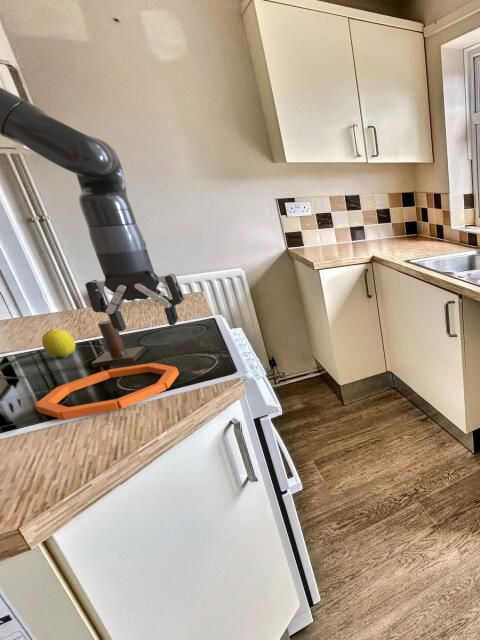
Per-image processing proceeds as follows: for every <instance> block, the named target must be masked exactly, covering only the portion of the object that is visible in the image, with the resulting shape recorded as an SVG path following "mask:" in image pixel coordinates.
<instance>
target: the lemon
mask: <svg viewBox="0 0 480 640" xmlns="http://www.w3.org/2000/svg"><path fill="white" fill-rule="evenodd" d="M41 343H42V347H43V349H44V350H45V352H46V353H47V354H49V355H51V356H53V357H57V358H58V357H60V358H63V359H65V358H68V357H69V356H70V355H71V354H72V353H74V351H75V349H76V341H75V339H74V337H73V336H72V335H71V334H70V333H69V332H67V331H66V330H63V329H57V328H50V329H49V330H48V331H46V332H45V333H44V334H43V335H42V337H41Z"/></svg>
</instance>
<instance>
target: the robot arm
mask: <svg viewBox="0 0 480 640" xmlns="http://www.w3.org/2000/svg"><path fill="white" fill-rule="evenodd" d="M0 136H2V137H4V138H6V139H7V140H9V141H12V142H14V143H17V144H19V145H22V146H24V147H26V148H27V149H29V150H30V151H32V152H34V153H35V154H37V155H39V156H41V157H43V158H44V159H46V160H47V161H49V162H51V163H53V164H54V165H57V166H58V167H60V168H62V169H64V170H66V171H69V172H70V173H73V174H75V175H76V178H77V181H78V184H79V188H80V194H79V197H78V202H79V206H80V210H81V212H82V215H83V217H84V220H85V223H86V225H87V229H88V235H89V237H90V239H89V240H90V241H91V244H92V248H93V249H94V252H95V255H96V258H97V260H98V262H99V266H100V269H101V271H102V274H103V276H104V280H96V279H92V280H90V281H88V282H86V283H85V284H84V285H85V288H86V293H87V295H88V298H89V301H90V305H91V309H92V312H95V313H104V314H106V315H107V316H108V318H109V320H110V321H111V323H112V326H113V327H114V328H115V329H117V330H118V332H124V331H126V330H127V324H126V321H125V319H124V317H123V314H122V312H121V310H119V309H120V307H121V305H122V304H123V303H124V301H126V302H129V301H134V300H147V299H151V300H152V301H154V302H155V303H156V302H157V303H158V304H160V305H161V306H163V307H165V308H164V313H165V316H166V319H167V323H168V325H169V326H175V325H176V324H177V322H178V321H179V315H178V312H177V308H176V306H177V305H180V304H181V303H182V302H184V300H185V297H184V295H183V292H182V290H181V287H180V284H179V281H178V280H177V276H176V275H175V274H174V273H168V274H167V275H161V276H158V275H157V274H156V273H155V270H154V267H153V264H152V261H151V258H150V255H149V251H148V249H147V244H146V241H145V239H144V236H143V235H142V232H141V230H140V228H139V226H138V223H137V221H136V217H135V214H134V211H133V209H132V206H131V204H130V201H129V197H128V194H127V187H126V181H125V176H124V171H123V167H122V163H121V160H120V158H119V156H118V154H117V152H116V151H115V149H114V148H113V147H112V146H111V145H110V144H109V143H108V142H106V141H104V140H102V139H100V138H98V137H95V136H91V135H88V134H86V133H84V132H81V131H79V130H78V129H75V128H73V127H71V126H69V125H67V124H65V123H64V122H61V121H59V120H57V119H56V118H53V117H52V116H50V115H49V114H48V113H46V111H44V110H43V109H41V108H39V107H38V106H36V105H35V104H32V103H31V102H30V101H27V100H26V99H24V98H22V97H19V96H18V95H16V94H14V93H12V92H10V91H9V90H7V89H4V88H3V87H1V86H0ZM160 283H162V285H163V286H165V287H167V289H168V290H169V294H170V296H171V297H169V296H168V295H166V293H165V292H164V291H163V290H161V289H160V288H158V286H159V284H160ZM105 288H106V289H108V290H109V291H110V292H111V293H113V295H112V297H111V299H110V301H109V304H106V301H105V298H104V295H103V292H104V291H105Z"/></svg>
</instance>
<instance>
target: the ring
mask: <svg viewBox="0 0 480 640" xmlns="http://www.w3.org/2000/svg"><path fill="white" fill-rule="evenodd" d="M145 373H151V374H157V375H161V376H160V378H159V379H158V381H157V382H156V383H154V384H151V385H148V386H146V387H143V388H140V389H138V390H136V391H133V392H131V393H128V394H125V395H123V396H121V397H118V398H114V399H108V400H103V401H97V402H91V403H85V404H80V405H74V406H65V405H62V404H59V403H60V401H61V400H63V399H64V398H65V397H66V396H68V395H69V394H70V393H72V392H75V391H77V390H81V389H84V388H85V387H86V388H87V387H89V386H92V385H94V384H98V383H100V382H103V381H106V380H109V379H113V378H119V377H126V376H132V375H139V374H145ZM179 375H180V373H179V370H178V368H177V366H173V365H167V364H161V363H156V362H149V363H142V364H136V365H129V366H124V367H123V366H121V367H116V368H110V369H108V370H101V371H99V372H97V373H94V374H90V375H88V376H85V377H82V378H79V379H75V380H72V381H70V382H67V383H63V384H61V385H59V386H56V387H54V389H53V390H51V391H50V392H48V394H46V395H45V396H43V397H42V398H41V399H39V400H38V401H37V402H35V404H34V405H35V408H36V410H37V413H39V414H44V415H46V416H50V417H53V418H56V419H59V420H63V419H64V420H66V419H67V420H68V419H72V418H79V417H83V416H88V415H89V416H90V415H94V414H100V413H105V412H110V411H111V412H112V411H116V410H117V411H118V410H119V409H124V408H126V407H129V406H131V405H133V404H135V403H138V402H141V401H144V400H145V399H147V398H150V397H152V396H155V395H157V394H160V393H162V392H164V391H166V390H167V389H169V388H170V387H171V386H172V384H173V383H174V382H175V381H176V379H177V378H178V376H179Z"/></svg>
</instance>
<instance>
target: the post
mask: <svg viewBox="0 0 480 640" xmlns="http://www.w3.org/2000/svg"><path fill="white" fill-rule="evenodd" d="M97 326H98V328H99V331H100V333H101V335H102V338H103V340H104V343H105V345H106V348H107V350H108V351H105V352H104V353H102V354H101V355H99V356H98V357H97V358H96V359H95V360H93V361H92V362H91V363H90V364H91V366H92V368H93V369H94V368H101V367H107V366H114V365H121V364H127V363H132V362H133V363H134V362H135V361H137V360H138V359H139V358H140V357H141V356H142V355H143V354H144V353H145V352H146V347H145V346H138V347H131V348H130V347H129V348H125V344H124V342H123V340H122V337H121V334H120V331H118V330H117V329H115V328H114V327H113V326H112V323H111V321H110V319H109V320H103V321H100V322H98V323H97Z"/></svg>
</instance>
